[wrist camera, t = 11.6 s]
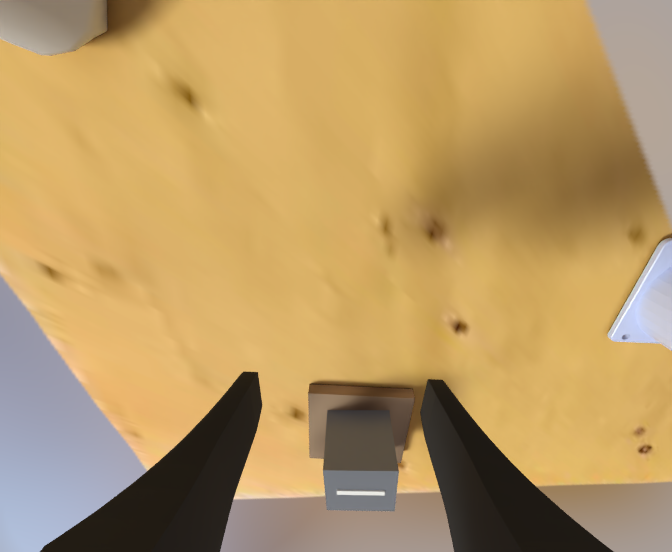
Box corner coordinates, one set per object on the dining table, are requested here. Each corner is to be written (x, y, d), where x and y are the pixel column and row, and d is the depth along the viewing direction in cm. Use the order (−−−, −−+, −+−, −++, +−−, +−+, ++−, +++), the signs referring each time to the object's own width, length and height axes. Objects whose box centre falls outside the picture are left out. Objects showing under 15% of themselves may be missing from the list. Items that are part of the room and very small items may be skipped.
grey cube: (389, 410, 25) (398, 472, 20) (386, 449, 27) (394, 512, 23) (327, 410, 25) (323, 471, 20) (330, 448, 27) (326, 511, 23)
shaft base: (412, 389, 25) (424, 434, 21) (399, 452, 29) (407, 500, 25) (309, 384, 25) (303, 428, 21) (310, 447, 29) (305, 494, 25)
